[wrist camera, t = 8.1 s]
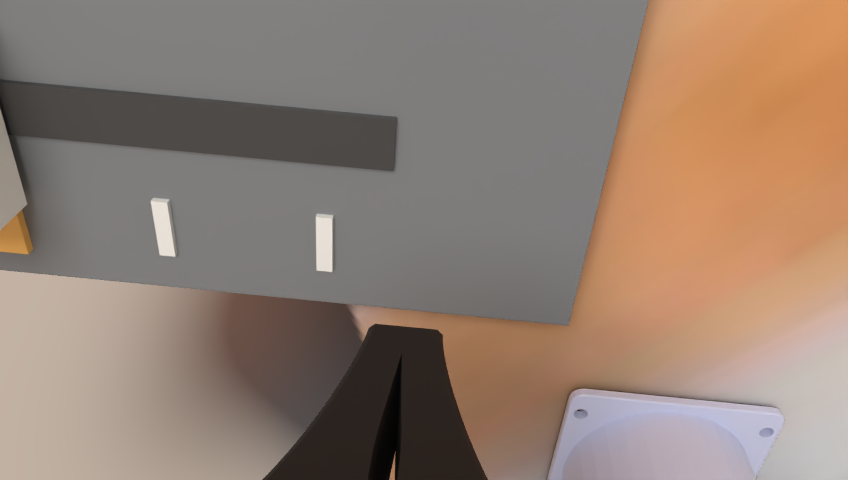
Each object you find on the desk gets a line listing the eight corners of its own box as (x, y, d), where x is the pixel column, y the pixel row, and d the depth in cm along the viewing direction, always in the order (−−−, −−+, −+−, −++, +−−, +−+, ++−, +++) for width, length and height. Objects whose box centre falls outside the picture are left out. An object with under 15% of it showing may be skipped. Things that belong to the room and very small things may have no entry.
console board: (563, 297, 24) (569, 331, 23) (-234, 218, 25) (-280, 248, 23) (651, -78, 18) (667, -63, 16) (-445, -177, 18) (-528, -172, 17)
